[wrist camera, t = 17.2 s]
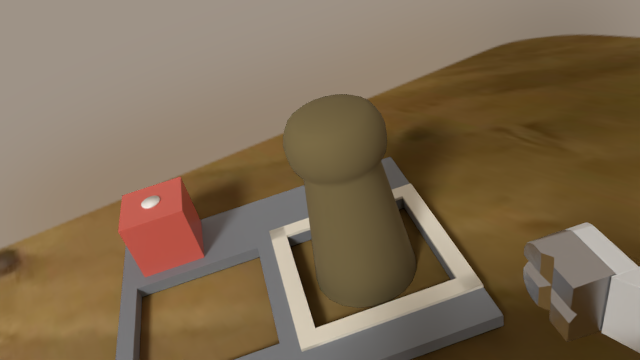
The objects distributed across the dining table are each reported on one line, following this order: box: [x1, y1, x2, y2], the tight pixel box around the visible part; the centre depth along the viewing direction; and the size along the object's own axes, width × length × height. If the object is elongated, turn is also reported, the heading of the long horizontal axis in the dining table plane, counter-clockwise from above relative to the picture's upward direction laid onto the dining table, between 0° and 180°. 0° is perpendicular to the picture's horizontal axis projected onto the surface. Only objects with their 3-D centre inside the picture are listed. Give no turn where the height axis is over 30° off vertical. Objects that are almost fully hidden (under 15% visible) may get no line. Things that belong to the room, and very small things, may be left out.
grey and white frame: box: [116, 157, 504, 360], centre depth 32 cm, size 20×16×1 cm
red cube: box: [118, 177, 204, 277], centre depth 35 cm, size 4×4×4 cm
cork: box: [283, 94, 416, 308], centre depth 29 cm, size 6×6×11 cm
